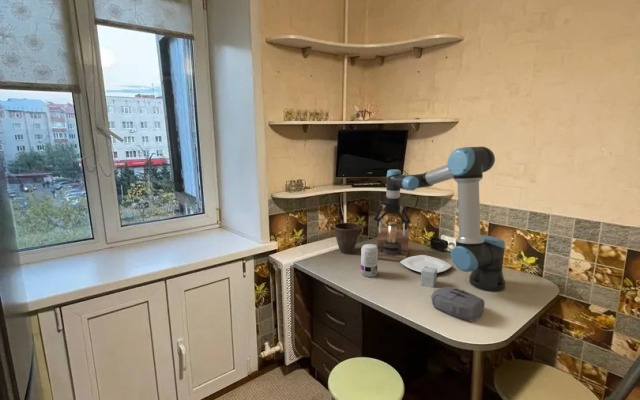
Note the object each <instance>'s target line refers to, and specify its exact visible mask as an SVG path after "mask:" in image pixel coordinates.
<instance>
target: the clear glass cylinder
mask: <svg viewBox="0 0 640 400" xmlns="http://www.w3.org/2000/svg"><path fill="white" fill-rule="evenodd" d="M387 228H388V235H387V244H388V245H396V232H397V229H398V222H396V221H388V222H387ZM387 250H389V251H395V250H396V248H387Z"/></svg>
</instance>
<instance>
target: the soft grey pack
mask: <svg viewBox="0 0 640 400" xmlns="http://www.w3.org/2000/svg"><path fill="white" fill-rule="evenodd" d="M430 298H431V301H432V305H433V307H434V308H437V309H438V310H439V311H441V312H442V313H445V314H447V315H449V316H450V317H451V316H452V317H455V318H458V319H460V320H464V321H467V322H468V321H469V322H475V321H476V320H478V319H480V317H481V315H482V314H483V312H484V310H485V301H484V299H483V298H481V297H479V296H477V295H475V294H473V293H471V292H468V291H466V290H464V289H460V288H456V287H448V286H443V287H441V288H438V289H435V290H434V291H433V292H432V294H431V295H430Z"/></svg>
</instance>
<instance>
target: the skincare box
mask: <svg viewBox="0 0 640 400" xmlns="http://www.w3.org/2000/svg"><path fill="white" fill-rule="evenodd" d="M437 276H438V273H437V269H436V268H431V267H426V266H425V267H424V268H423V269H422V270H421V273H420V285H421V286H425V287H430V288H434V287H435V285H436V284H437V280H438V279H437V278H438V277H437Z"/></svg>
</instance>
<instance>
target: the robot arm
mask: <svg viewBox="0 0 640 400" xmlns="http://www.w3.org/2000/svg"><path fill="white" fill-rule="evenodd" d="M495 161H496V158H495V154H494V152H493V150H491V149H490V148H488V147H487V146H464V147H459V148H456V149H454V150H453V151H452V152H451V153H450V154H449V156H448V159H447V164H445V165H442V166H440V167H437V168H434V169H432V170H429V171H426V172H423V173H417V174H408V175H407V174H402V171H401V170H400V169H389V170H387V173H386V193H385V194H386V198H385V205H384V204H380V206H379V210H378V211H377V214H376V215H375V217H374V219H373V220H374V221H376V224H377V225H376V227H377V228H379V233H380V232H381V228H382V221H381V220H382V219H383V218H384V217H385V216H386V215H387V214H388V213H389V214H393V215H395V214H396V215H397V216H398V217H399V218H400V219H401V220H402V222H403V224H402V227H403V228H402V230H403V235H404V234H405V230H408V224H410V223H411V219H410V216H409V214H408V212H407V210H406V206H405V205H402V206H401V205H400V203H401V199H400V197H401V189H402V190H405V191H415V190H416V189H421V188H422V189H423V188H430V187H432V186H435V185H436V184H439V183H442V182H446V181H449V180H452V179H453V180H454V181H455V182H456V184H457V203H458V204H457V206H458V209H457V210H458V234H459V235H458V237H457V238H456V239H455V246H454V247H453V248H452V249H451V252H450V259H451V262H452V263H453V265H454V266H455V267H456V268H457V269H458V270H460V271H462V272H466V273H469V272H471V273H470V275H469V280H468V281H469V284H470V285H471V286H473V287H475V288H477V289H479V290H481V291H485V292H486V291H488V292H500V291H503V290H504V289H505V286H506V281H505V277H504V274H503V265H504V257H505V249H506V247H505V245H506V243H505V241H504V240H503V239H502V238H499V237H495V236H491V235H482V234H481V213H480V211H481V209H480V207H481V206H480V204H481V203H480V181H481V180H482V179H483V178H484V177H483V176H484V175H483V174H484V173H486V172H489V171H490V170H491V169H492V168H493V167H494V165H495ZM384 209H385V211H384V212H383V214H382V215H380V214H381V212H382V211H383V210H384ZM400 210H401V211H402V212H403V214H404V216H405V217H404V216H403V214H402V213H401V212H400Z"/></svg>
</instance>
